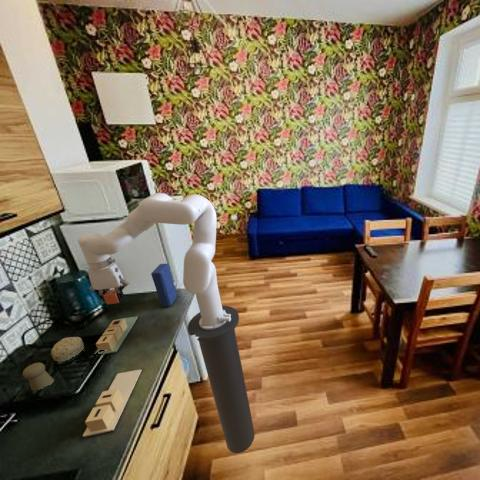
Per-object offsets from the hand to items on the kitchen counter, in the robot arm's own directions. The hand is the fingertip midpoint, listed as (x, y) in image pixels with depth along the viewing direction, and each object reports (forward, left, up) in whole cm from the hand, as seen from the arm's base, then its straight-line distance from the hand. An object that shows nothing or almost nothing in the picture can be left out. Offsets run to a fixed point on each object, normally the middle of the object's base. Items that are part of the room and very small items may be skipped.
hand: (114, 299), depth 115 cm
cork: (+3, +32, -15) cm, 35 cm away
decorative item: (+9, +18, -15) cm, 25 cm away
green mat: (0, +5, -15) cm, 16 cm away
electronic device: (-7, -20, -15) cm, 27 cm away
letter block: (0, 0, 0) cm, 0 cm away
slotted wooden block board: (-25, +32, -15) cm, 43 cm away
